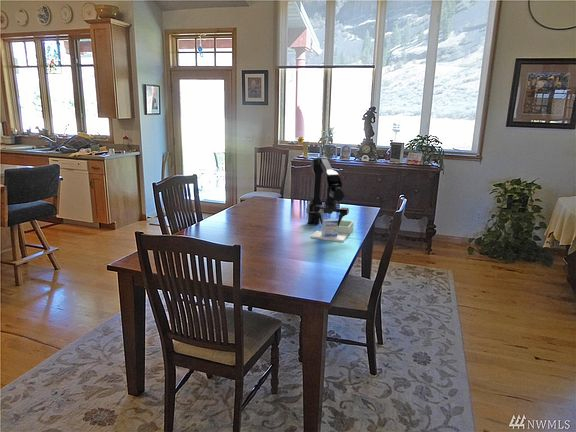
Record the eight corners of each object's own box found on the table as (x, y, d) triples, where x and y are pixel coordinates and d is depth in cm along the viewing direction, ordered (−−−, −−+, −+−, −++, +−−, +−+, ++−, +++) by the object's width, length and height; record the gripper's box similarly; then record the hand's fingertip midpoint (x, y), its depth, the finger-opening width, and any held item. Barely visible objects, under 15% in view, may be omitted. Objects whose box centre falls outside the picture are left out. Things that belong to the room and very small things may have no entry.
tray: (310, 237, 222) (310, 236, 221) (316, 232, 232) (316, 230, 232) (343, 242, 216) (343, 240, 216) (347, 236, 226) (347, 234, 226)
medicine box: (324, 236, 221) (324, 221, 218) (321, 234, 225) (322, 219, 222) (337, 236, 223) (338, 220, 220) (334, 233, 227) (335, 218, 225)
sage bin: (322, 232, 231) (323, 224, 230) (328, 226, 244) (329, 218, 242) (348, 236, 227) (349, 227, 225) (353, 229, 239) (353, 221, 238)
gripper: (310, 198, 214) (309, 226, 218) (345, 201, 208) (343, 231, 212) (316, 194, 224) (315, 221, 228) (349, 197, 218) (348, 225, 222)
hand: (330, 225), depth 222 cm, fingers open, 9 cm apart
